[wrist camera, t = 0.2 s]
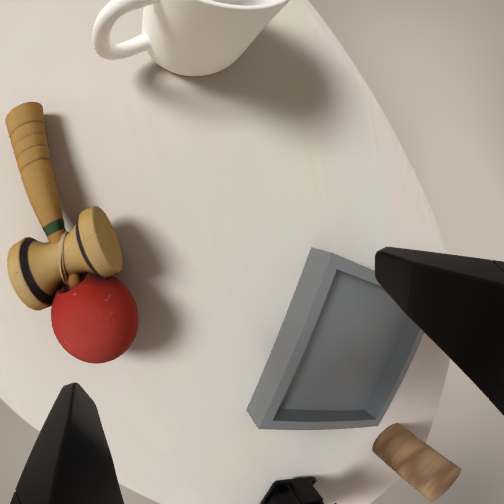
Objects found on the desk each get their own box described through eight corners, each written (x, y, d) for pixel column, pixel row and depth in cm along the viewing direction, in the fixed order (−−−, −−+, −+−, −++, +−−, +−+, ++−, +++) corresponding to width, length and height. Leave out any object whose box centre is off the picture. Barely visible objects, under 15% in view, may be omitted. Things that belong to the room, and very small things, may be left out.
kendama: (-11, 153, 17) (71, 367, 20) (-37, 121, 11) (62, 400, 14) (72, 115, 20) (155, 324, 23) (68, 73, 15) (173, 343, 17)
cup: (260, 58, 22) (328, -2, 13) (123, 120, 19) (114, 60, 10) (215, -12, 19) (259, -86, 10) (82, 39, 17) (63, -42, 7)
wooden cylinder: (389, 450, 37) (443, 495, 25) (366, 455, 35) (423, 506, 23) (406, 422, 37) (466, 464, 25) (385, 424, 35) (449, 474, 23)
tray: (363, 413, 33) (377, 425, 30) (246, 410, 27) (258, 428, 24) (417, 291, 32) (436, 298, 29) (311, 247, 26) (331, 253, 23)
